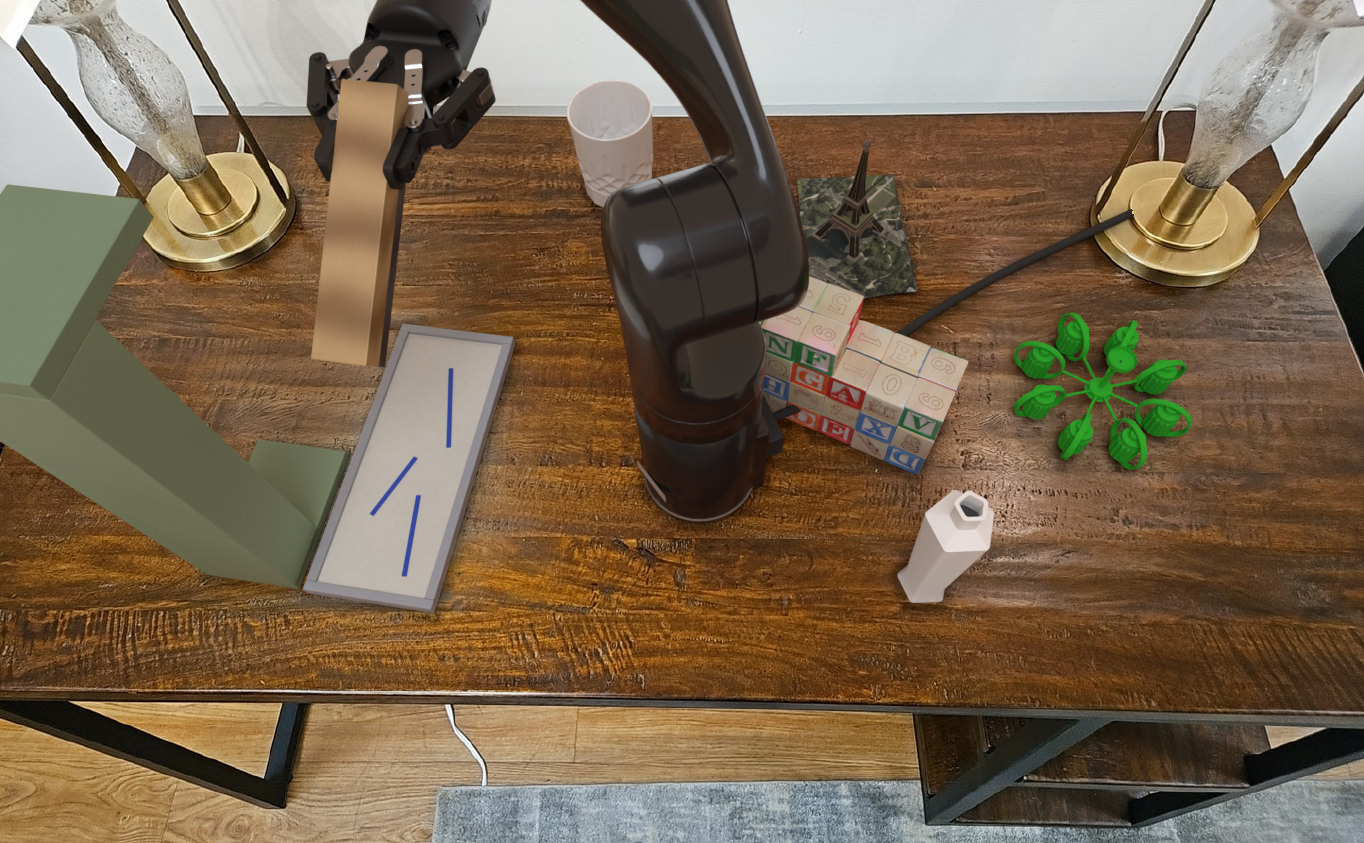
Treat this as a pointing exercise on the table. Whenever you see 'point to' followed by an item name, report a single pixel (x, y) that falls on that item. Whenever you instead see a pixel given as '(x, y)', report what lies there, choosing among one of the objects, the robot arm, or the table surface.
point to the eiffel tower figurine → (856, 232)
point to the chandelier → (1102, 390)
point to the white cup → (611, 136)
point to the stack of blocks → (858, 377)
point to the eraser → (360, 229)
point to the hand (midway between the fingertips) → (359, 176)
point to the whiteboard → (412, 470)
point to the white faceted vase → (947, 545)
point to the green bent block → (136, 404)
